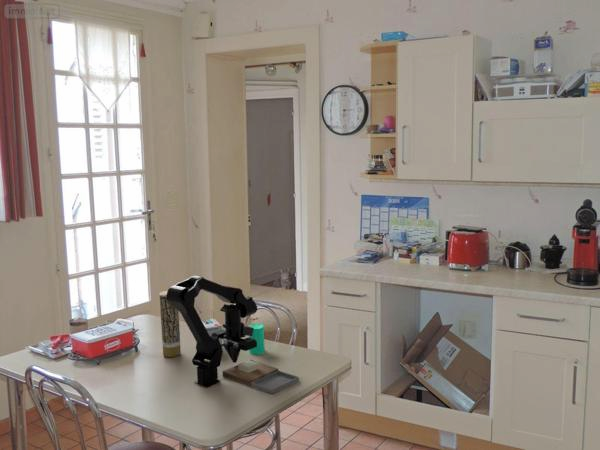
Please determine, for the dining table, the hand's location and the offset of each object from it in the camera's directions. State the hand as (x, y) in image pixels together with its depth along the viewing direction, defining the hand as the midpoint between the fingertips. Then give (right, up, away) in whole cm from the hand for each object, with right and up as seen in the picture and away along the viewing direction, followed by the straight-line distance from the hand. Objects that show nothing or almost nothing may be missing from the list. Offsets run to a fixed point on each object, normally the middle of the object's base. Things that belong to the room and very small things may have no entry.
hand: (234, 362), depth 229 cm
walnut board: (+6, -4, -5) cm, 9 cm away
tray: (+15, -5, -13) cm, 20 cm away
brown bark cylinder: (-26, -1, +17) cm, 31 cm away
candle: (+7, 0, +18) cm, 19 cm away
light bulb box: (-12, 0, +23) cm, 26 cm away
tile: (+5, -1, -5) cm, 7 cm away
